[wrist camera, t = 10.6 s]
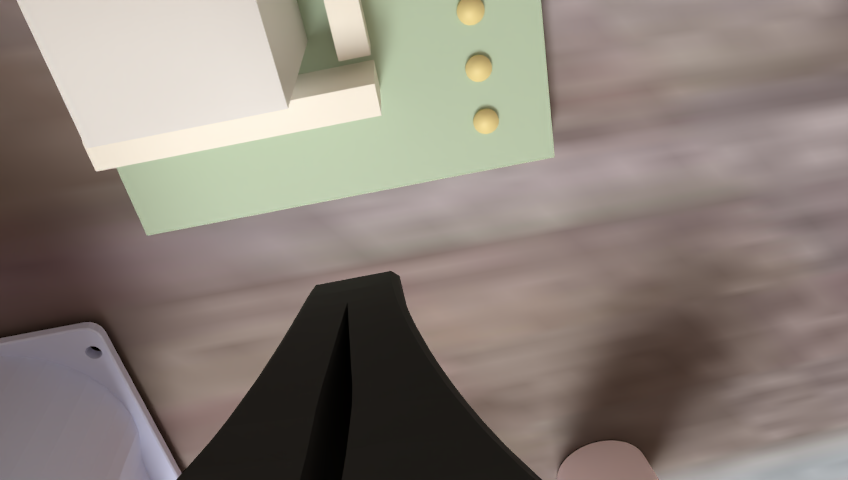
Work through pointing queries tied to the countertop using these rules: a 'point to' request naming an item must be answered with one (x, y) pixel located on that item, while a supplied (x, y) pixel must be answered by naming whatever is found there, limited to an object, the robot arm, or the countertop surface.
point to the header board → (359, 114)
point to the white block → (167, 61)
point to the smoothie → (606, 463)
